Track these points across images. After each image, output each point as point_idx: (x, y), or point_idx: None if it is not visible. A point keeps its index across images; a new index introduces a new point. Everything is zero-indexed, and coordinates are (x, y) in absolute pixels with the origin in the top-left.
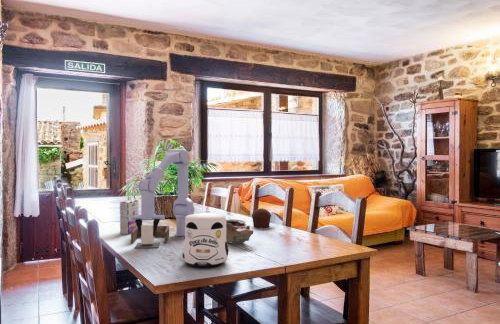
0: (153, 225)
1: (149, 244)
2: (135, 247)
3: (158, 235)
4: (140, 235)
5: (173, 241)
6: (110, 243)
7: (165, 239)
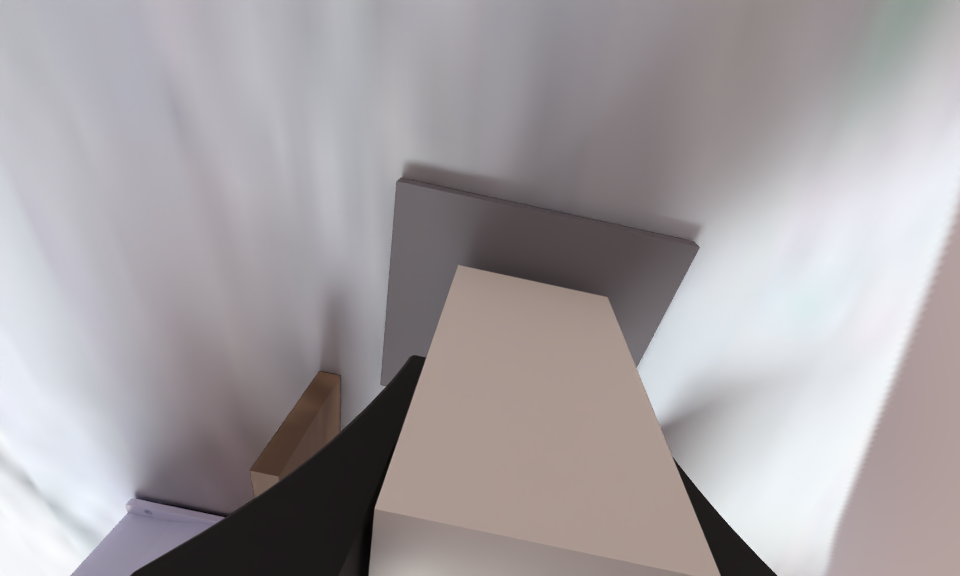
0: (356, 529)
1: None
2: (687, 246)
3: None
4: None
5: (264, 403)
6: (836, 502)
7: (314, 400)
